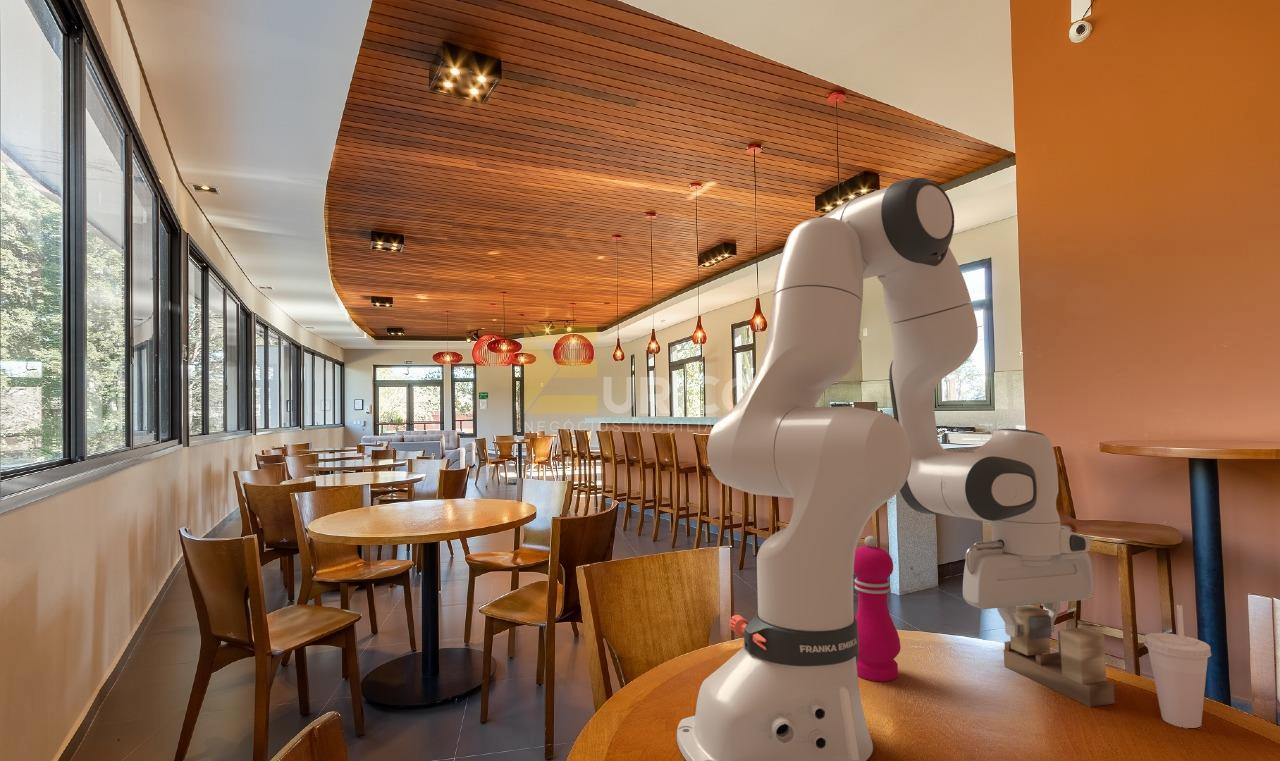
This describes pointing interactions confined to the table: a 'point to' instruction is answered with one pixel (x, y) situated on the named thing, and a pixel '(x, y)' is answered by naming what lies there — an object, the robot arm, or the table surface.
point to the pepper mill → (875, 614)
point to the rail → (1054, 679)
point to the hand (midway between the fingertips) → (1029, 633)
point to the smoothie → (1179, 674)
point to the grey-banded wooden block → (1032, 630)
